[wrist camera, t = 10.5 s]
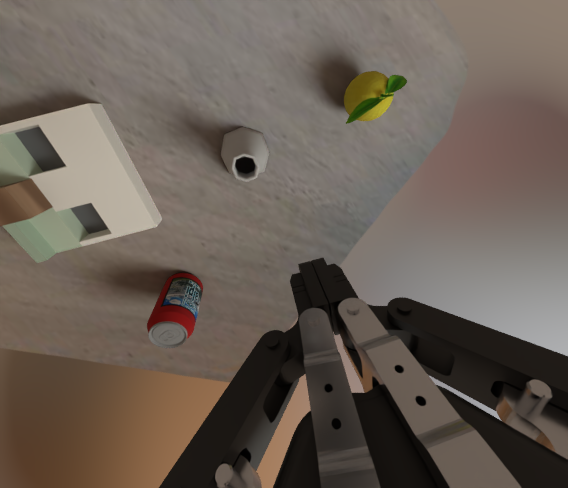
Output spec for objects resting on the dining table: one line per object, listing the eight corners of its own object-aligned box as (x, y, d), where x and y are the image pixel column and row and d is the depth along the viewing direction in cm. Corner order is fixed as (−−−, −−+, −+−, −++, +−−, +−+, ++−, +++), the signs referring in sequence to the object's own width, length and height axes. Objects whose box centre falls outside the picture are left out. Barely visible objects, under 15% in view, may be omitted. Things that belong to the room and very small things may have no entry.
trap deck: (101, 103, 30) (77, 103, 26) (162, 218, 39) (152, 232, 35) (-31, 136, 30) (-77, 141, 26) (60, 245, 39) (36, 262, 34)
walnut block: (31, 178, 31) (4, 187, 27) (53, 207, 33) (30, 218, 29) (0, 186, 31) (-31, 196, 27) (24, 214, 33) (-2, 226, 29)
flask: (216, 127, 34) (206, 134, 25) (268, 125, 34) (275, 131, 26) (224, 179, 37) (217, 200, 29) (270, 176, 38) (278, 196, 29)
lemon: (329, 120, 35) (356, 125, 26) (336, 72, 32) (369, 59, 24) (371, 124, 36) (410, 129, 28) (382, 77, 33) (429, 67, 25)
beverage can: (211, 284, 47) (201, 335, 36) (187, 303, 48) (171, 357, 38) (183, 263, 43) (163, 312, 33) (158, 284, 45) (132, 337, 35)
